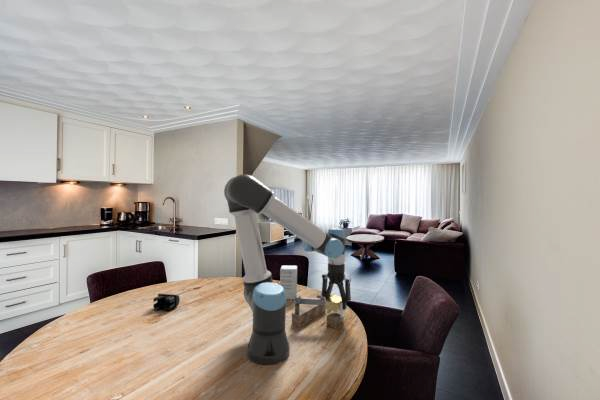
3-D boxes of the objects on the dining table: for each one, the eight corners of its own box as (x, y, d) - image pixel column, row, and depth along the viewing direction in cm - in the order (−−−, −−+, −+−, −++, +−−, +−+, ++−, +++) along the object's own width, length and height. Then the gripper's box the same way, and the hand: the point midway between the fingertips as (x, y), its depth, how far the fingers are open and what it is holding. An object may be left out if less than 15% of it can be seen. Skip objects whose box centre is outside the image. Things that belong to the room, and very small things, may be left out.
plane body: (299, 327, 120) (299, 305, 120) (291, 324, 123) (292, 303, 123) (325, 311, 138) (325, 292, 138) (318, 309, 140) (318, 290, 140)
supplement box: (296, 300, 153) (296, 269, 153) (279, 299, 153) (280, 268, 153) (296, 294, 163) (297, 265, 163) (281, 293, 163) (281, 264, 163)
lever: (293, 304, 121) (293, 295, 121) (294, 301, 124) (294, 293, 124) (324, 306, 119) (324, 297, 119) (324, 303, 122) (324, 295, 122)
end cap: (179, 306, 141) (180, 293, 141) (171, 312, 134) (171, 298, 134) (161, 305, 142) (161, 292, 142) (152, 310, 135) (152, 296, 135)
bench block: (335, 327, 120) (335, 318, 120) (326, 325, 123) (326, 316, 123) (343, 321, 127) (343, 312, 127) (335, 319, 129) (335, 310, 129)
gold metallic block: (337, 312, 120) (337, 303, 120) (325, 309, 123) (325, 300, 123) (345, 306, 126) (345, 297, 126) (334, 303, 130) (334, 295, 130)
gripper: (359, 264, 122) (358, 317, 122) (322, 258, 133) (321, 306, 133) (352, 267, 116) (351, 323, 116) (313, 261, 127) (313, 312, 127)
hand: (335, 314), depth 125 cm, fingers closed on gold metallic block, 6 cm apart
